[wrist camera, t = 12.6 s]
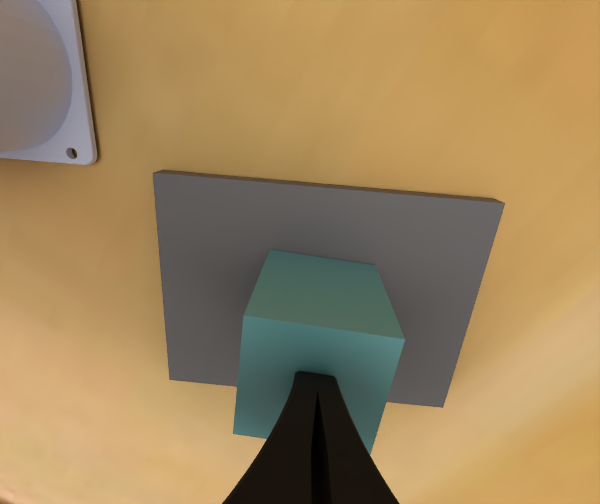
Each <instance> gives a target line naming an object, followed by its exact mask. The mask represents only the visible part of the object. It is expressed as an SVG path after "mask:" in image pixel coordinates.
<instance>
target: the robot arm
mask: <svg viewBox="0 0 600 504" xmlns="http://www.w3.org/2000/svg"><path fill="white" fill-rule="evenodd" d="M73 148H74V149H75V150H76V152H77V157H76V158H75V157H74V156H73V154H72V149H73ZM0 158H8V159H19V160H31V161H43V162H54V163H66V164H77V165H89V164H93V163H95V162H96V160H97V149H96V141H95V134H94V127H93V120H92V112H91V105H90V98H89V91H88V83H87V76H86V69H85V62H84V54H83V47H82V40H81V33H80V25H79V18H78V11H77V4H76V0H0ZM222 504H399V502H398V501H397V499H396V498H395V496H394V495H393V493H392V492H391V490H390V488H389V487H388V485H387V484H386V482H385V480H384V479H383V477H382V476H381V474H380V472H379V470H378V469H377V467H376V465H375V464H374V462H373V460H372V458H371V456H370V454H369V453H368V451H367V449H366V447H365V445H364V443H363V441H362V439H361V437H360V435H359V433H358V431H357V429H356V427H355V424H354V422H353V420H352V418H351V416H350V413H349V411H348V409H347V406H346V404H345V401H344V399H343V396H342V394H341V391H340V388H339V385H338V382H337V379H336V378H335V376H331V375H324V374H318V373H311V372H305V371H297V372H295V376H294V381H293V385H292V388H291V391H290V394H289V396H288V399H287V401H286V403H285V406H284V408H283V410H282V412H281V414H280V416H279V418H278V420H277V422H276V424H275V426H274V428H273V429H272V431H271V433H270V435H269V437H268V438H267V440H266V442H265V444H264V445H263V447H262V448H261V450H260V452H259V453H258V455H257V456H256V458H255V459H254V461H253V462H252V464H251V465H250V467H249V468H248V470H247V471H246V473H245V474H244V475H243V477H242V478H241V479H240V481H239V482H238V484H237V485H236V486H235V488H234V489H233V490H232V492H231V493H230V494H229V496H228V497H227V498H226V499H225V501H224V502H223V503H222Z"/></svg>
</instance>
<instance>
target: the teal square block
mask: <svg viewBox="0 0 600 504" xmlns="http://www.w3.org/2000/svg"><path fill="white" fill-rule="evenodd" d="M404 342H405V338H404V335H403V333H402V330H401V328H400V325H399V323H398V320H397V318H396V315H395V313H394V310H393V308H392V305H391V303H390V300H389V298H388V295H387V293H386V290H385V288H384V285H383V283H382V280H381V278H380V275H379V273H378V270H377V268H376V265H371V264H364V263H357V262H351V261H344V260H337V259H330V258H324V257H317V256H310V255H304V254H297V253H290V252H283V251H277V250H269V253H268V255H267V258H266V260H265V263H264V265H263V268H262V270H261V273H260V275H259V278H258V280H257V283H256V285H255V288H254V290H253V293H252V295H251V298H250V300H249V303H248V305H247V308H246V310H245V313H244V315H243V327H242V338H241V349H240V361H239V372H238V383H237V395H236V406H235V417H234V429H233V434H238V435H244V436H251V437H258V438H264V439H267V438H268V437H269V435H270V433H271V431H272V429H273V428H274V426H275V424H276V422H277V420H278V418H279V416H280V414H281V412H282V410H283V408H284V406H285V403H286V401H287V399H288V396H289V394H290V391H291V388H292V385H293V381H294V376H295V372H297V371H305V372H311V373H318V374H324V375H331V376H335V378H336V379H337V382H338V385H339V388H340V391H341V394H342V396H343V399H344V401H345V404H346V406H347V409H348V411H349V413H350V416H351V418H352V420H353V422H354V424H355V427H356V429H357V431H358V433H359V435H360V437H361V439H362V441H363V443H364V445H365V447H366V449H367V451H368V453H369V454H371V451H372V447H373V444H374V441H375V437H376V434H377V431H378V428H379V424H380V421H381V418H382V414H383V411H384V408H385V404H386V401H387V398H388V394H389V391H390V388H391V385H392V381H393V378H394V375H395V371H396V368H397V365H398V361H399V358H400V355H401V352H402V348H403V345H404Z"/></svg>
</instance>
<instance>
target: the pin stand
mask: <svg viewBox="0 0 600 504" xmlns="http://www.w3.org/2000/svg"><path fill="white" fill-rule="evenodd" d="M153 181H154V194H155V206H156V218H157V230H158V243H159V255H160V267H161V280H162V292H163V304H164V316H165V329H166V341H167V353H168V366H169V378H170V380H177V381H187V382H197V383H206V384H216V385H226V386H236V387H237V383H238V372H239V361H240V349H241V338H242V327H243V315H244V313H245V310H246V308H247V305H248V303H249V300H250V298H251V295H252V293H253V290H254V288H255V285H256V283H257V280H258V278H259V275H260V273H261V270H262V268H263V265H264V263H265V260H266V258H267V255H268V253H269V250H277V251H283V252H290V253H297V254H304V255H310V256H317V257H324V258H330V259H337V260H344V261H351V262H357V263H364V264H371V265H376V268H377V270H378V273H379V275H380V278H381V280H382V283H383V285H384V288H385V290H386V293H387V295H388V298H389V300H390V303H391V305H392V308H393V310H394V313H395V315H396V318H397V320H398V323H399V325H400V328H401V330H402V333H403V335H404V338H405V342H404V345H403V348H402V352H401V355H400V358H399V361H398V365H397V368H396V371H395V375H394V378H393V381H392V385H391V388H390V391H389V394H388V398H387V401H386V402H393V403H403V404H413V405H422V406H432V407H442V408H443V406H444V403H445V399H446V396H447V393H448V390H449V386H450V383H451V380H452V376H453V373H454V370H455V367H456V363H457V360H458V357H459V353H460V350H461V347H462V344H463V340H464V337H465V334H466V330H467V327H468V324H469V320H470V317H471V314H472V311H473V307H474V304H475V301H476V297H477V294H478V291H479V288H480V284H481V281H482V278H483V274H484V271H485V268H486V264H487V261H488V258H489V255H490V251H491V248H492V245H493V241H494V238H495V235H496V232H497V228H498V225H499V222H500V218H501V215H502V212H503V208H504V205H505V203H503V202H501V201H498V200H496V199H492V198H480V197H469V196H457V195H446V194H434V193H423V192H411V191H400V190H388V189H376V188H365V187H353V186H342V185H330V184H319V183H307V182H296V181H284V180H272V179H261V178H249V177H238V176H226V175H215V174H203V173H192V172H180V171H168V170H161V171H157V172H154V173H153Z"/></svg>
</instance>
